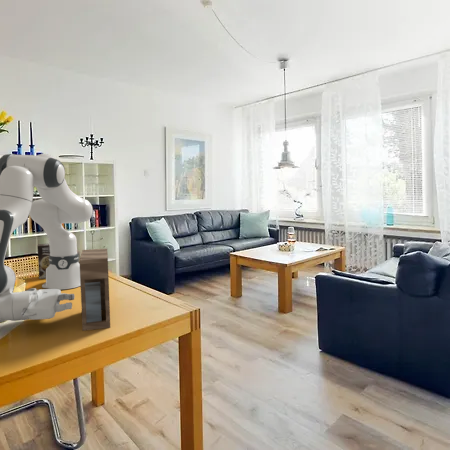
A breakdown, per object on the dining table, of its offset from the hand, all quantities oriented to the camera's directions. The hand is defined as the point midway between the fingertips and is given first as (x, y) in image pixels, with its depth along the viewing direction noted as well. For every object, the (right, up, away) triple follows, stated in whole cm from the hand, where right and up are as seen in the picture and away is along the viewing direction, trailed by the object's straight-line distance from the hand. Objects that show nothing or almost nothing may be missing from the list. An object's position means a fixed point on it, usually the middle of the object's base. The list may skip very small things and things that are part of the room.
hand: (73, 300), depth 119 cm
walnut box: (+7, -7, +3) cm, 10 cm away
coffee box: (-36, -1, +59) cm, 69 cm away
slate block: (+6, -7, +3) cm, 9 cm away
